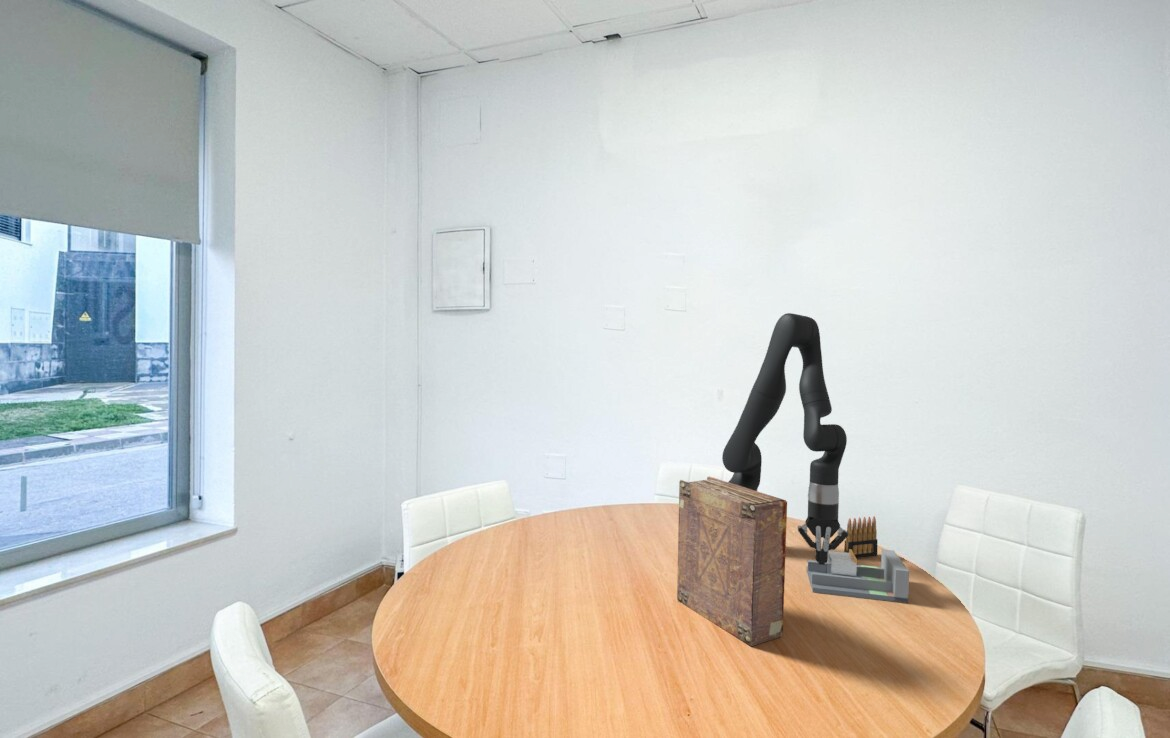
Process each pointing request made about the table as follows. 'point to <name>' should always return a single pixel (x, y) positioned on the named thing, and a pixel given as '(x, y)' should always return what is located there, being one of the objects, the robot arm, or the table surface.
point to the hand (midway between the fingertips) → (821, 563)
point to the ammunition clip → (861, 538)
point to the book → (732, 557)
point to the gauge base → (865, 580)
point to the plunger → (842, 563)
